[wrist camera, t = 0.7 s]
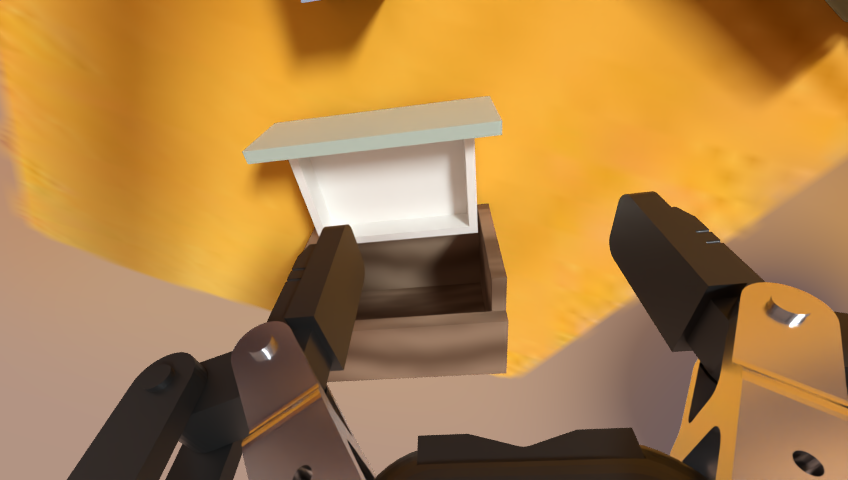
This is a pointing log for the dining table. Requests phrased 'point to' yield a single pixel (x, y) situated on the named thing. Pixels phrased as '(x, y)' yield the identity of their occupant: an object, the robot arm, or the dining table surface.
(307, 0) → the slate block
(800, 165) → the dining table surface
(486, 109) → the tray
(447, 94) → the dining table surface
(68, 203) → the dining table surface
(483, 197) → the dining table surface
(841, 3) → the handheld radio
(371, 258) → the open wooden box
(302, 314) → the robot arm
